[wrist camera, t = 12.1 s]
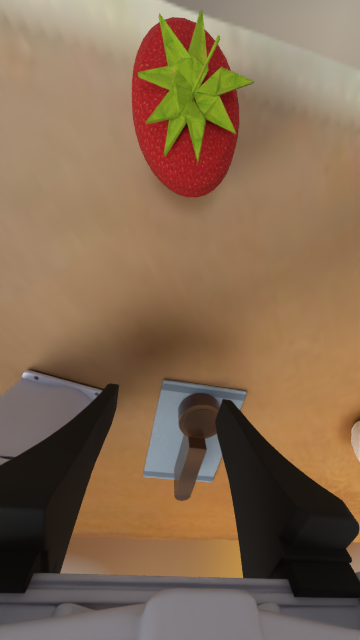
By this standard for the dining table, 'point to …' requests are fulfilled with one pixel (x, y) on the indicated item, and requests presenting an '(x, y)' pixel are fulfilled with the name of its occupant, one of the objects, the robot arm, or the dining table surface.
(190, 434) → the spoon
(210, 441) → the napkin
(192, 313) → the dining table surface
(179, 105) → the strawberry
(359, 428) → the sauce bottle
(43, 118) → the dining table surface
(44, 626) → the robot arm
